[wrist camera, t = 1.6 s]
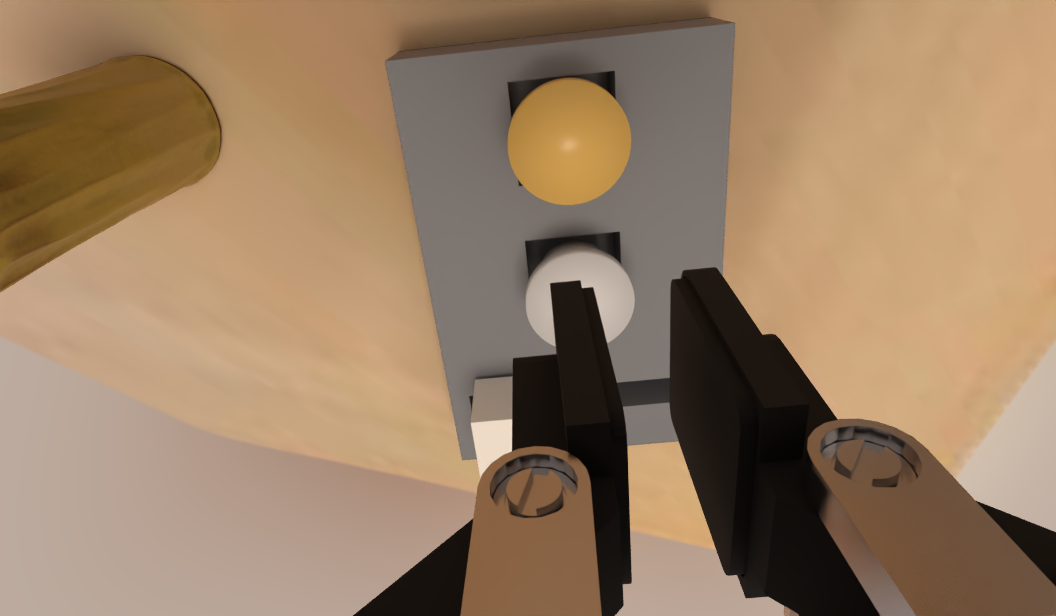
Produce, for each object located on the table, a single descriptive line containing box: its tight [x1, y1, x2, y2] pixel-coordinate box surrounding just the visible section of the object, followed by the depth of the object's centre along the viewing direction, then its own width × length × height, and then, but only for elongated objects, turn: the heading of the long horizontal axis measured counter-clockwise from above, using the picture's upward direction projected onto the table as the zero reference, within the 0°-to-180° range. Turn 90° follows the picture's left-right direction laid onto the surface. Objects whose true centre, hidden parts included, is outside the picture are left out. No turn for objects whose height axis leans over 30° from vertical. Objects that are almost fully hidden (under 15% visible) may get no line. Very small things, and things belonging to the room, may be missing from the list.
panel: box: [385, 17, 735, 460], centre depth 32 cm, size 14×21×4 cm, turn 6°
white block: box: [471, 376, 513, 478], centre depth 33 cm, size 3×4×6 cm
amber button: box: [508, 78, 631, 205], centre depth 26 cm, size 5×5×3 cm
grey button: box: [525, 240, 635, 347], centre depth 29 cm, size 5×5×3 cm
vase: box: [0, 56, 220, 292], centre depth 23 cm, size 6×6×14 cm
